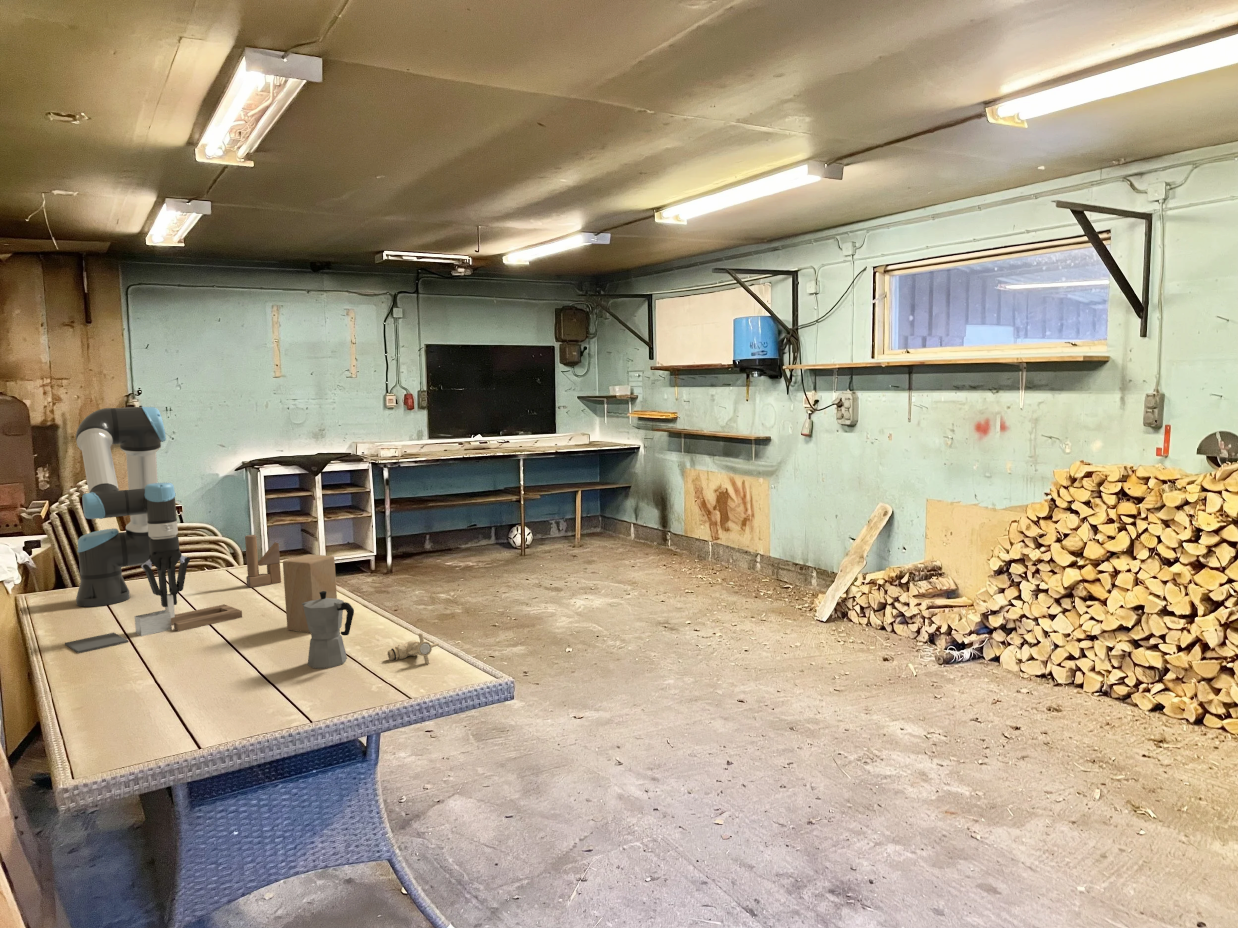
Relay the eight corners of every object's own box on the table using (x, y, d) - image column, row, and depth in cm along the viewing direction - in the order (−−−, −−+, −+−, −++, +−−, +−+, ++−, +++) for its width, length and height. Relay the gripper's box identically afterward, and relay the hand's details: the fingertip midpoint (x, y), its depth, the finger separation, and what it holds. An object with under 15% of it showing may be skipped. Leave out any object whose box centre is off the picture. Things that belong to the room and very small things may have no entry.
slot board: (162, 623, 249) (162, 617, 248) (224, 610, 262) (224, 604, 262) (178, 631, 240) (178, 624, 240) (242, 617, 253) (241, 610, 253)
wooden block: (339, 624, 242) (334, 555, 241) (313, 633, 233) (308, 562, 232) (313, 620, 247) (308, 553, 245) (286, 630, 238) (281, 560, 236)
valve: (443, 659, 206) (404, 672, 201) (425, 657, 216) (388, 670, 211) (436, 628, 206) (397, 640, 201) (418, 628, 217) (381, 640, 211)
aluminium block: (135, 633, 239) (134, 616, 239) (166, 626, 245) (164, 609, 245) (141, 636, 236) (139, 618, 236) (171, 629, 242) (170, 612, 242)
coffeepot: (292, 666, 206) (287, 594, 204) (319, 654, 215) (315, 585, 213) (343, 672, 200) (338, 598, 199) (369, 659, 209) (364, 588, 207)
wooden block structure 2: (281, 582, 299) (278, 532, 297) (250, 588, 291) (246, 536, 290) (277, 580, 301) (274, 531, 300) (246, 586, 294) (242, 535, 292)
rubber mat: (65, 644, 230) (64, 642, 230) (113, 634, 239) (113, 632, 239) (78, 653, 222) (78, 651, 222) (128, 642, 231) (128, 640, 231)
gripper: (143, 541, 235) (150, 624, 237) (192, 534, 244) (198, 614, 246) (134, 538, 240) (141, 619, 242) (182, 532, 249) (188, 609, 251)
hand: (170, 616), depth 244 cm, fingers closed
